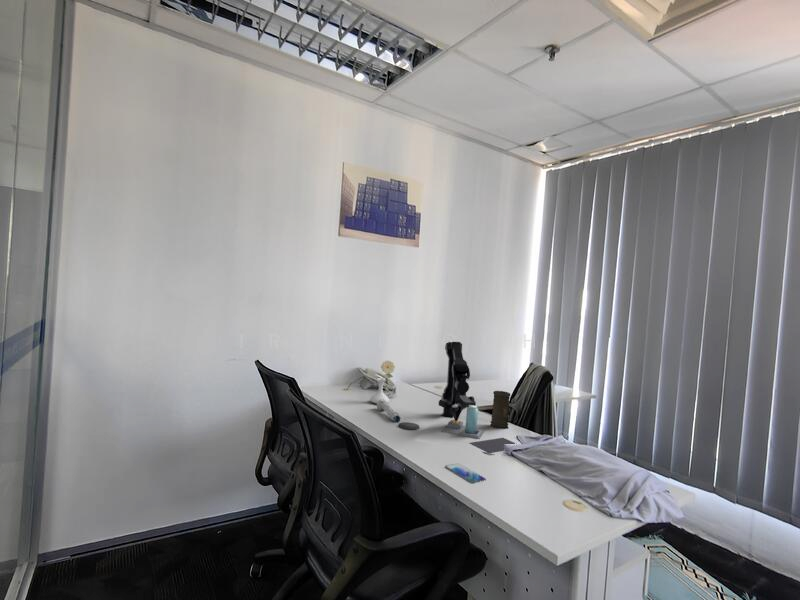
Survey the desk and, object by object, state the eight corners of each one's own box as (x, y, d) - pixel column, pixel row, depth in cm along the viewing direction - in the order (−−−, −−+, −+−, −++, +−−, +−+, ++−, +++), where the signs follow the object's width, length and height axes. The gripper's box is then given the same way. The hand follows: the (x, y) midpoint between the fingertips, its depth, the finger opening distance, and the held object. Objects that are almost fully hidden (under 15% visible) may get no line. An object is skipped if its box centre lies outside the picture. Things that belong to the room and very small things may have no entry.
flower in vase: (367, 404, 236) (371, 360, 236) (372, 399, 248) (375, 357, 247) (390, 406, 234) (393, 362, 234) (393, 402, 245) (397, 359, 245)
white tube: (392, 415, 204) (376, 395, 227) (390, 428, 205) (374, 407, 228) (402, 415, 206) (385, 395, 229) (400, 427, 207) (383, 407, 230)
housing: (449, 425, 209) (449, 419, 209) (485, 432, 202) (485, 425, 202) (440, 433, 194) (440, 427, 194) (479, 441, 187) (479, 434, 187)
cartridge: (466, 431, 197) (468, 404, 197) (477, 433, 195) (479, 405, 195) (463, 434, 192) (466, 406, 192) (475, 436, 190) (477, 408, 190)
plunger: (453, 424, 206) (453, 419, 206) (459, 425, 205) (459, 420, 205) (451, 426, 203) (451, 421, 203) (457, 427, 202) (458, 422, 202)
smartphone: (458, 463, 159) (487, 479, 147) (458, 465, 159) (486, 481, 147) (444, 465, 155) (471, 482, 143) (443, 467, 155) (471, 484, 143)
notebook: (502, 440, 193) (467, 446, 181) (503, 437, 193) (468, 442, 181) (524, 450, 182) (488, 457, 170) (524, 447, 182) (488, 453, 170)
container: (488, 428, 208) (491, 392, 208) (491, 424, 216) (494, 389, 216) (506, 432, 205) (509, 395, 205) (509, 427, 213) (512, 392, 213)
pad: (402, 422, 207) (402, 421, 207) (422, 426, 203) (422, 424, 203) (395, 427, 198) (395, 426, 198) (415, 431, 194) (415, 430, 194)
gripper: (452, 393, 192) (449, 427, 192) (484, 391, 201) (481, 424, 201) (439, 387, 202) (436, 419, 202) (469, 386, 211) (467, 417, 211)
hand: (455, 420), depth 204 cm, fingers closed
